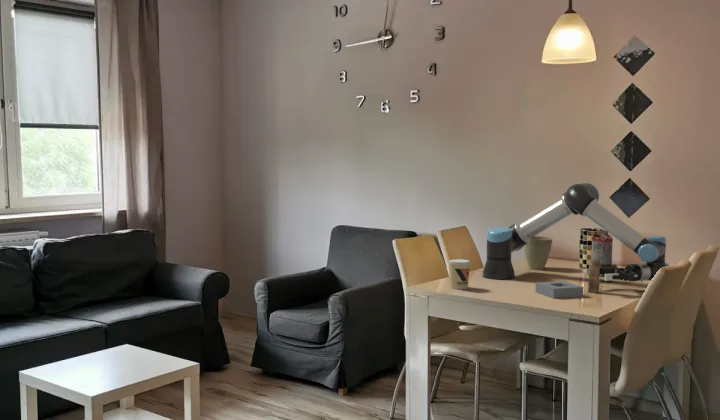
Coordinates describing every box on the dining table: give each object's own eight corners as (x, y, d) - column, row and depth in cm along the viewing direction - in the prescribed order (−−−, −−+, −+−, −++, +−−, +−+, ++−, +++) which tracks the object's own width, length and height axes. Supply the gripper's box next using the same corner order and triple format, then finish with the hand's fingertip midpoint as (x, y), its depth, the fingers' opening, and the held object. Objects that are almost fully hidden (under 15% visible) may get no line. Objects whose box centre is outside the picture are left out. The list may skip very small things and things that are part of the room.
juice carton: (611, 275, 340) (612, 231, 338) (601, 276, 337) (602, 231, 335) (601, 273, 346) (602, 229, 344) (591, 274, 343) (592, 230, 341)
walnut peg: (586, 291, 301) (587, 259, 300) (594, 290, 302) (595, 258, 301) (592, 293, 297) (593, 260, 296) (601, 292, 298) (602, 260, 297)
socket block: (535, 291, 299) (535, 282, 299) (563, 290, 303) (564, 281, 303) (553, 298, 286) (553, 288, 286) (583, 296, 290) (583, 287, 290)
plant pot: (517, 268, 358) (518, 238, 357) (528, 265, 371) (529, 235, 369) (545, 271, 350) (546, 240, 349) (555, 268, 362) (556, 237, 361)
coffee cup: (456, 290, 301) (456, 263, 300) (444, 286, 309) (444, 259, 308) (473, 288, 305) (474, 261, 304) (461, 285, 314) (461, 258, 313)
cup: (617, 283, 320) (618, 266, 320) (600, 282, 322) (601, 265, 321) (615, 280, 328) (615, 263, 327) (598, 279, 329) (599, 262, 329)
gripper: (656, 286, 293) (613, 288, 287) (618, 276, 317) (577, 278, 310) (657, 268, 292) (614, 270, 286) (618, 259, 316) (578, 261, 310)
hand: (595, 274), depth 298 cm, fingers open, 13 cm apart
